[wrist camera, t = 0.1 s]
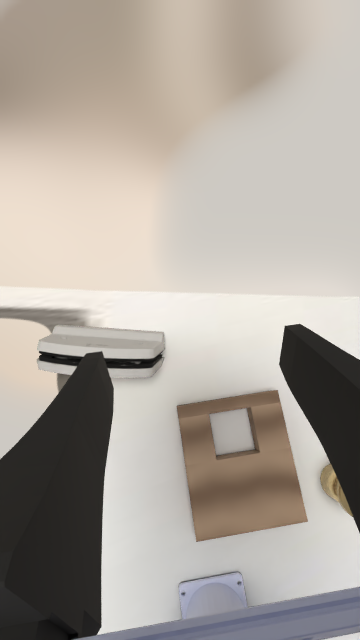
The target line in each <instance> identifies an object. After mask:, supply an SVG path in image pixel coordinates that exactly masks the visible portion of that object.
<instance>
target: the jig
mask: <svg viewBox="0 0 360 640" xmlns="http://www.w3.org/2000/svg"><path fill="white" fill-rule="evenodd" d="M242 408H247V411H248V416H249V420H250V425H251V430H252V435H253V440H254V445H255V450H249V451H243V452H237V453H231V454H225V455H219V456H216V453H215V448H214V442H213V436H212V430H211V424H210V418H209V414H211V413H217V412H223V411H230V410H236V409H242ZM177 411H178V418H179V425H180V431H181V438H182V445H183V452H184V459H185V466H186V473H187V480H188V487H189V494H190V501H191V508H192V514H193V521H194V528H195V535H196V542H198V541H204V540H209V539H215V538H220V537H226V536H231V535H237V534H242V533H248V532H253V531H258V530H264V529H269V528H275V527H280V526H286V525H291V524H297V523H302V522H308V520H307V516H306V512H305V507H304V503H303V499H302V494H301V490H300V486H299V481H298V477H297V473H296V468H295V464H294V460H293V455H292V451H291V446H290V442H289V438H288V433H287V429H286V425H285V420H284V416H283V412H282V407H281V403H280V399H279V394H278V390H274V391H266V392H260V393H254V394H248V395H241V396H235V397H229V398H223V399H216V400H210V401H204V402H198V403H191V404H185V405H179V406H177Z"/></svg>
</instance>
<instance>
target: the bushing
mask: <svg viewBox="0 0 360 640" xmlns="http://www.w3.org/2000/svg"><path fill="white" fill-rule="evenodd" d="M320 480H321V485H322V488H323V490H324V491H325V493H326V494H327V495H329V496H330V497H332V498H333V499H335V500H336V501H338V502H339V503H340V504H341V506H342V507H343V509H344V510H345V511H346V512H347V513H348V514H349V515H351V516H352V517H353V515H352V512H351V510H350V507H349V505H348V502H347V500H346V497H345V495H344V493H343V490H342V488H341V486H340V484H339V481H338V479H337V477H336V474H335V472H334V470H333V468H332V465H331V464H329V465H327V466H326V467H325V468H324V469H323V471H322V473H321V478H320Z"/></svg>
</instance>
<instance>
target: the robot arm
mask: <svg viewBox="0 0 360 640" xmlns="http://www.w3.org/2000/svg"><path fill="white" fill-rule="evenodd" d="M279 365H280V368H281V370H282V373H283V375H284V377H285V380H286V382H287V384H288V387H289V388H290V390H291V392H292V394H293V395H294V397H295V399H296V401H297V402H298V404H299V406H300V407H301V409H302V411H303V413H304V414H305V416H306V418H307V419H308V421H309V423H310V424H311V426H312V428H313V430H314V431H315V433H316V435H317V437H318V438H319V440H320V442H321V444H322V446H323V448H324V450H325V452H326V454H327V457H328V459H329V461H330V463H331V465H332V468H333V470H334V472H335V474H336V477H337V479H338V481H339V484H340V486H341V488H342V490H343V493H344V495H345V497H346V500H347V502H348V505H349V507H350V510H351V512H352V515H353V517H354V520H355V522H356V525H357V527H358V530H359V533H360V360H359V359H357V358H355V357H354V356H352V355H350V354H348V353H347V352H345V351H343V350H342V349H340V348H338V347H337V346H335V345H334V344H332V343H330V342H329V341H327V340H326V339H324V338H322V337H321V336H319V335H318V334H316V333H314V332H313V331H311V330H309V329H308V328H306V327H304V326H303V325H301V324H296V325H289V326H285V329H284V336H283V342H282V349H281V356H280V363H279ZM113 391H114V388H113V385H112V382H111V378H110V375H109V372H108V368H107V365H106V362H105V359H104V355H103V352H102V351H100V352H92V353H86V354H85V356H84V357H83V358H82V360H81V361H80V363H79V364H78V366H77V367H76V369H75V370H74V372H73V373H72V375H71V376H70V378H69V379H68V381H67V382H66V384H65V385H64V386H63V388H62V389H61V391H60V392H59V393H58V395H57V396H56V398H55V399H54V400H53V401H52V403H51V404H50V405H49V407H48V408H47V409H46V411H45V412H44V413H43V414H42V415H41V417H40V418H39V419H38V420H37V421H36V423H35V424H34V425H33V426H32V427H31V429H30V430H29V431H28V432H27V433H26V434H25V435H24V436H23V437H22V438H21V439H20V440H19V442H18V443H17V444H16V445H15V446H14V447H13V448H12V449H11V450H10V451H9V452H8V453H6V455H4V456H3V457H2V458H1V459H0V640H321V639H327V638H332V637H337V636H342V635H347V634H353V633H358V632H360V587H356V588H351V589H345V590H340V591H334V592H329V593H324V594H318V595H313V596H307V597H302V598H296V599H291V600H285V601H280V602H275V603H269V604H264V605H258V606H253V607H247V601H246V595H245V590H244V584H243V578H242V575H241V573H239V572H236V573H230V574H225V575H220V576H215V577H209V578H204V579H199V580H193V581H188V582H183V583H180V585H179V595H180V603H181V611H182V620H177V621H171V622H166V623H160V624H155V625H149V626H144V627H139V628H133V629H128V630H122V631H117V632H111V633H106V634H101V635H97V633H98V632H99V630H100V628H101V554H102V514H103V491H104V476H105V466H106V459H107V453H108V446H109V439H110V432H111V424H112V417H113ZM238 581H241V583H240V584H238V583H237V582H238ZM183 591H184V592H185V594H182V592H183Z"/></svg>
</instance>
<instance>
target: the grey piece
mask: <svg viewBox="0 0 360 640" xmlns="http://www.w3.org/2000/svg"><path fill="white" fill-rule="evenodd" d="M163 336H164V332H156V331H142V330H128V329H114V328H99V327H85V326H71V325H57V326H55V328H54V330H53V332H52V334H51V335H49V336H47V337H45V338H43V339H41V340H39V343H38V347H37V350H39V353H41V354H42V355H40V356H39V358H38V359H37V364H38V368H39V369H40V370H44V371H49V372H54V373H61V374H68V375H72V373H73V372H74V370H75V369H76V367H77V366H78V364H79V363H80V361H81V360H82V358H83V357H84V356H85V354H86V353H92V352H100V351H102V352H103V355H104V359H105V362H106V365H107V368H108V372H109V375H110V378H146V377H151V376H152V375H153V374H154V373H155V372H156V371H157V370H158V369H159V368H160V366H161V365H162V363H163V359H164V357H162V355H159V354H160V353H161V352H162V351H163V350H164V349H165V348H164V339H163Z"/></svg>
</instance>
